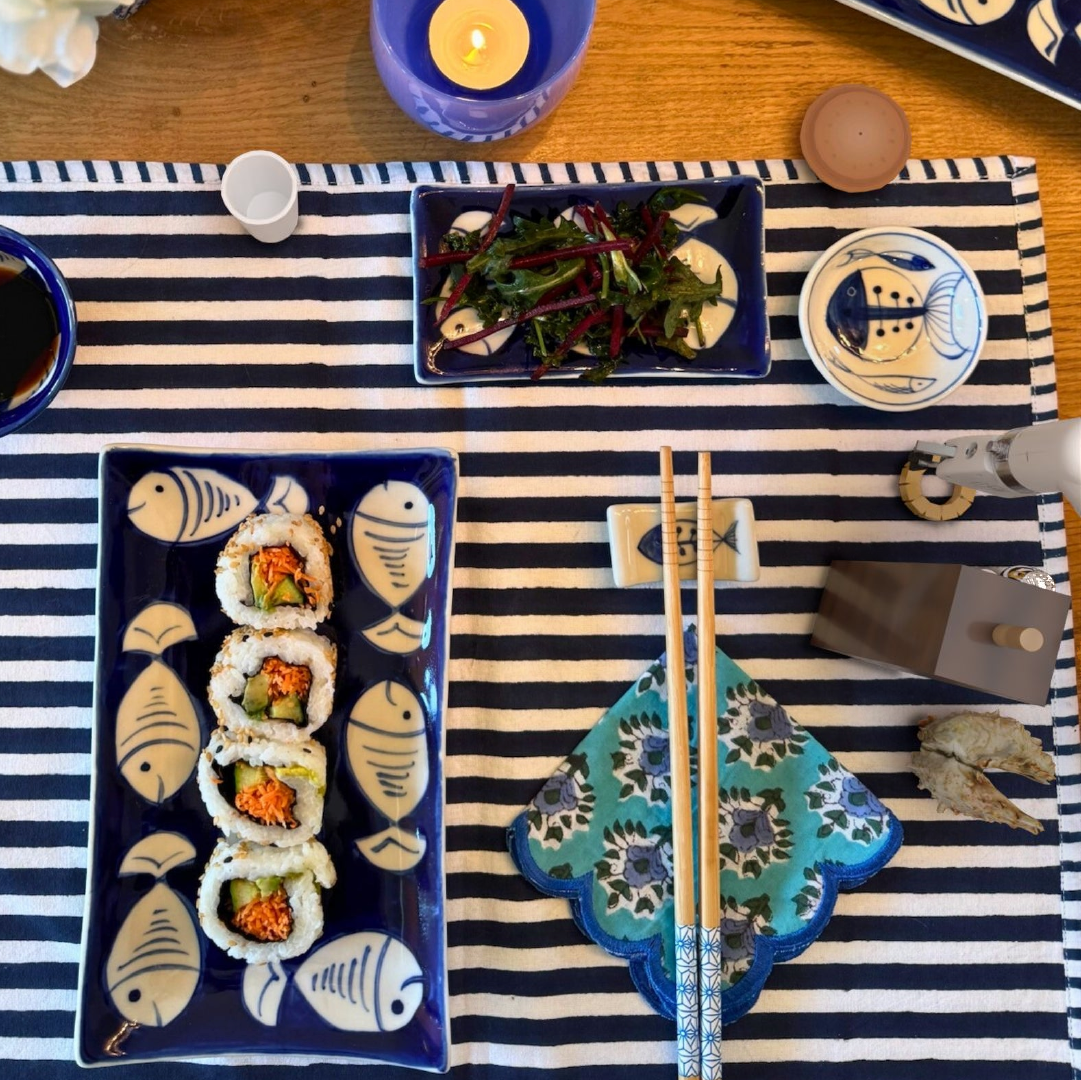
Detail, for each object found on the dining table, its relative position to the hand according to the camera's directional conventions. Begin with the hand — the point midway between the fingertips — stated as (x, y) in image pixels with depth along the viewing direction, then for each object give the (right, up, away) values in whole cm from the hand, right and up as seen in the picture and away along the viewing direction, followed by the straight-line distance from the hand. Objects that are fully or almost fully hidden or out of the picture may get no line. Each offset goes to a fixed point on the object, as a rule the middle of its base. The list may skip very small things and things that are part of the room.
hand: (950, 469), depth 133 cm
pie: (-7, +46, +16) cm, 49 cm away
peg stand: (-7, -20, +11) cm, 23 cm away
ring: (+4, -2, +12) cm, 13 cm away
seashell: (+4, -39, +9) cm, 40 cm away
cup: (-88, +35, +14) cm, 96 cm away
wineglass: (+10, -16, +11) cm, 22 cm away
